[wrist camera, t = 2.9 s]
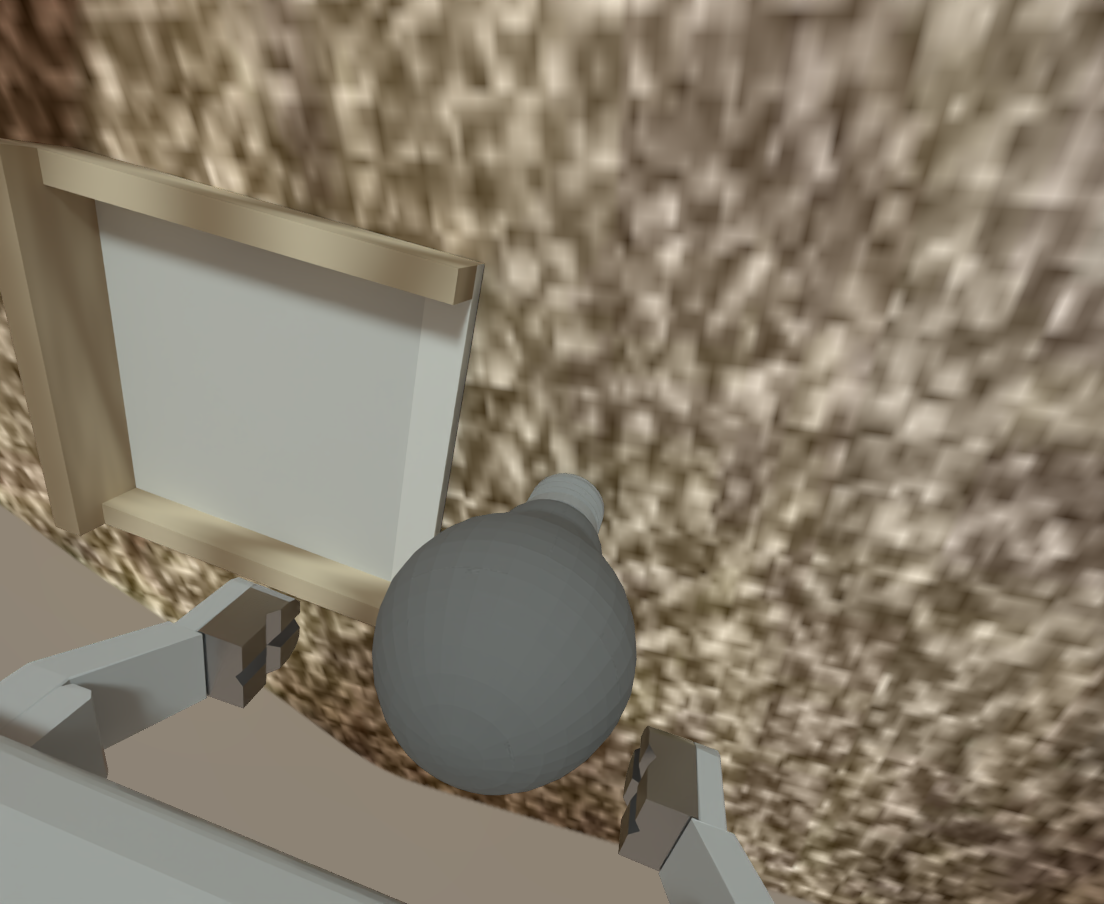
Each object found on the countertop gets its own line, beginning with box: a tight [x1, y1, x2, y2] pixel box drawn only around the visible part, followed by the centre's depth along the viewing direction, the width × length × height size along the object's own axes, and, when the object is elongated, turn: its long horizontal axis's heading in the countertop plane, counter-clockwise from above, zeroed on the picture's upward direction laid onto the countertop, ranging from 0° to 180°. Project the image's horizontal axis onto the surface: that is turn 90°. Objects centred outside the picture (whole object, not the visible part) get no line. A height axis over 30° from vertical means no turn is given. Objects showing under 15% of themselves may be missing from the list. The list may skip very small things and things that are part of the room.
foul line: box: [391, 264, 484, 581], centre depth 19 cm, size 2×14×1 cm, turn 166°
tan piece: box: [0, 138, 484, 627], centre depth 19 cm, size 15×14×3 cm
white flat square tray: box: [95, 200, 484, 582], centre depth 20 cm, size 15×14×1 cm
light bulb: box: [372, 473, 636, 795], centre depth 14 cm, size 6×6×10 cm
